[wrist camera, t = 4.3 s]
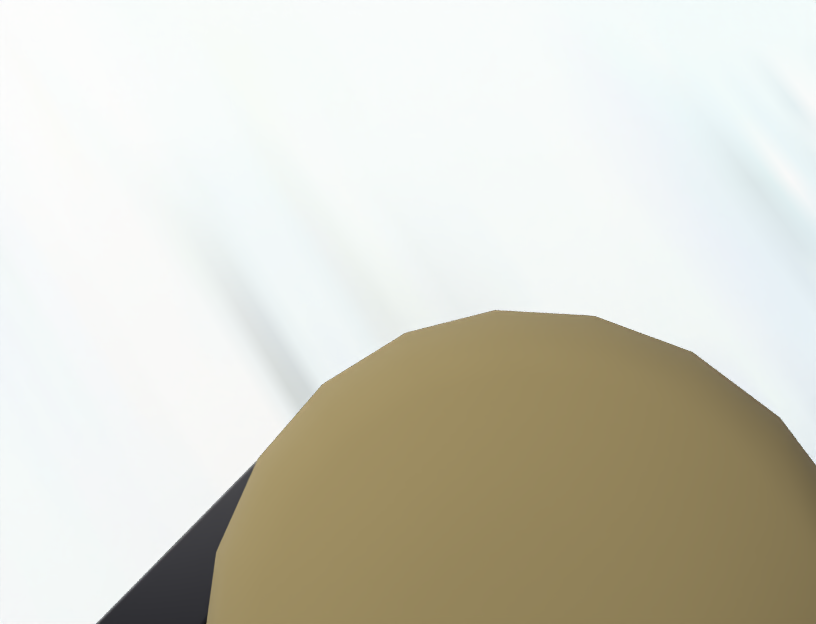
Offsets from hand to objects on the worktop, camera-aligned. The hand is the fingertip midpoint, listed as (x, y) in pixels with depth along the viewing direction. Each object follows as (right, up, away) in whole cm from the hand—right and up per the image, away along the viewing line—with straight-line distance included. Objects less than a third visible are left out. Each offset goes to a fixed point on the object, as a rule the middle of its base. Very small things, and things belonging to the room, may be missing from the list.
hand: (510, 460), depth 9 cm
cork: (+1, -3, +6) cm, 7 cm away
